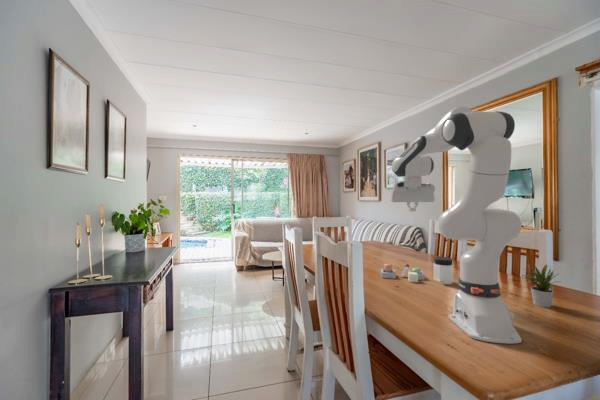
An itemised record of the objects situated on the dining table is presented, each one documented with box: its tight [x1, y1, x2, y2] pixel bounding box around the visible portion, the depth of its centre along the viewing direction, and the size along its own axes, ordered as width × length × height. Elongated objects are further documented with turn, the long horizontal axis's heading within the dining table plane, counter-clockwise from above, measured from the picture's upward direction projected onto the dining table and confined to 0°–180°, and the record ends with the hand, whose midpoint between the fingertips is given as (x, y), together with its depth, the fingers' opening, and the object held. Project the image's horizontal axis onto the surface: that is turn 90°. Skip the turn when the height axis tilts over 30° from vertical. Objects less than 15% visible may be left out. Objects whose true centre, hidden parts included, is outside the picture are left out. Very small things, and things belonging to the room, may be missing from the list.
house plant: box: [519, 263, 561, 308], centre depth 113 cm, size 14×14×16 cm
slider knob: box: [407, 271, 419, 283], centre depth 140 cm, size 4×4×4 cm
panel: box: [380, 268, 426, 281], centre depth 145 cm, size 14×22×4 cm, turn 77°
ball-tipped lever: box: [400, 263, 410, 278], centre depth 147 cm, size 2×2×7 cm
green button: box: [411, 267, 421, 274], centre depth 146 cm, size 4×4×4 cm
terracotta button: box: [383, 263, 393, 272], centre depth 149 cm, size 4×4×4 cm
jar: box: [433, 256, 454, 286], centre depth 142 cm, size 9×8×12 cm
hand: (412, 211), depth 142 cm, fingers closed
